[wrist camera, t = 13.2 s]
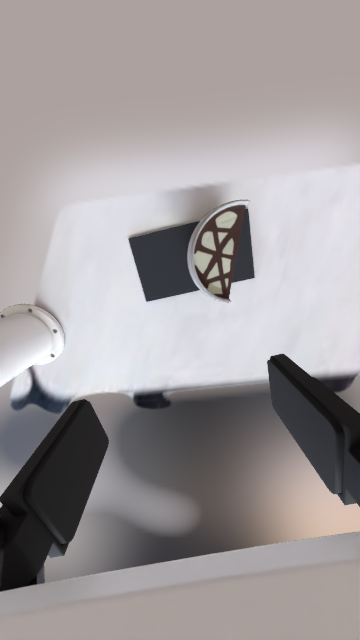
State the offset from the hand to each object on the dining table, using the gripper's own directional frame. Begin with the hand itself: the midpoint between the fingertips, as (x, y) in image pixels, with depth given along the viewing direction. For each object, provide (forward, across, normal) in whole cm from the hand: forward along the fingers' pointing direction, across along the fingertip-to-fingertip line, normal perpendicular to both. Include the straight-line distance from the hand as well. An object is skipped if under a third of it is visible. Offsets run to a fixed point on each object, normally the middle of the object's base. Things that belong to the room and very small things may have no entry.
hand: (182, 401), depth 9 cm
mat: (+25, -4, -7) cm, 26 cm away
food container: (+25, -6, -7) cm, 26 cm away
